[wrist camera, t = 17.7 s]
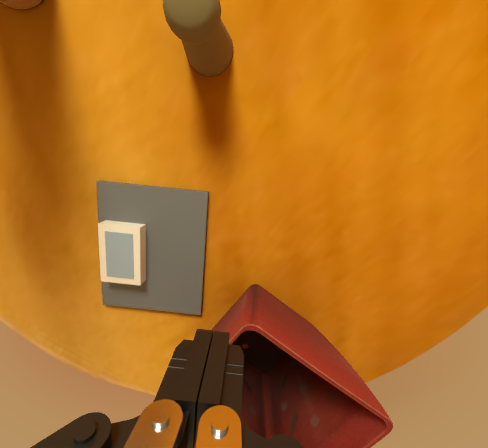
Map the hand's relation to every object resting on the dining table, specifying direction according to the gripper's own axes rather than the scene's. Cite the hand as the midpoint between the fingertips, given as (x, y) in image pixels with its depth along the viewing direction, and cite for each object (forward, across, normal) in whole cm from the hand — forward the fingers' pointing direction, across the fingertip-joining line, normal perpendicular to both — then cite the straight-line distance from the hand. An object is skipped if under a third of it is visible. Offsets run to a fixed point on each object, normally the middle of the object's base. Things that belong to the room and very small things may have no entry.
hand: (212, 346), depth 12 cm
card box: (+25, +14, +7) cm, 30 cm away
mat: (+27, +13, +7) cm, 31 cm away
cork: (+27, +6, -21) cm, 35 cm away
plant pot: (+27, -5, +19) cm, 34 cm away
